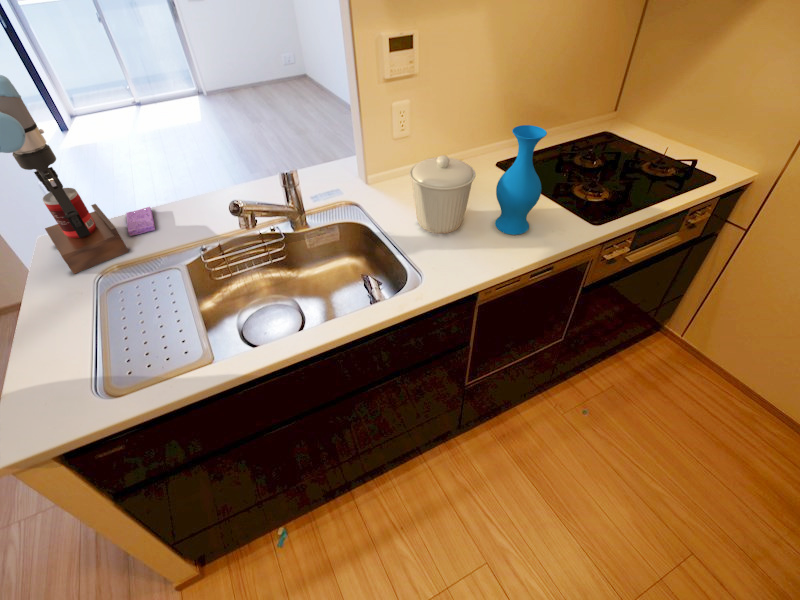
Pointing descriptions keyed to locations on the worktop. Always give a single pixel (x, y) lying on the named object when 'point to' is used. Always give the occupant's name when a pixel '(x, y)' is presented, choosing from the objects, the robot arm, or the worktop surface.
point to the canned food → (59, 213)
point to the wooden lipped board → (89, 243)
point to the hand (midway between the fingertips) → (80, 228)
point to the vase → (519, 183)
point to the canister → (441, 192)
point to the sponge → (140, 221)
